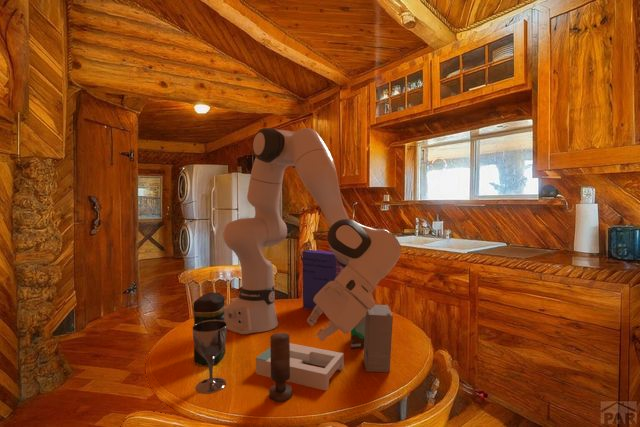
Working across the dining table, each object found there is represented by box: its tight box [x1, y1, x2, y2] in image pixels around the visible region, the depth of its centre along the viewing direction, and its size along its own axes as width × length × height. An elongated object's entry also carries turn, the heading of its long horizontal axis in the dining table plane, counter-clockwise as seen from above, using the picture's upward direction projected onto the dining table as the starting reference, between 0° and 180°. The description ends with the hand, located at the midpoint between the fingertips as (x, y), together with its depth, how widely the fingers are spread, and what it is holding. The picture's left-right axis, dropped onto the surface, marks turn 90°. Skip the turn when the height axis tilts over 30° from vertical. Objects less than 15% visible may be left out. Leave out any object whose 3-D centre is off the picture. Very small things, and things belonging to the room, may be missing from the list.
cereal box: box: [301, 249, 344, 311], centre depth 140 cm, size 17×5×24 cm, turn 60°
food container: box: [350, 314, 366, 350], centre depth 108 cm, size 12×6×10 cm, turn 168°
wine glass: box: [192, 320, 228, 395], centre depth 84 cm, size 8×8×15 cm
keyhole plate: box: [255, 342, 345, 392], centre depth 91 cm, size 20×12×4 cm, turn 66°
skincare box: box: [362, 304, 394, 373], centre depth 94 cm, size 8×7×16 cm
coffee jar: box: [192, 292, 226, 366], centre depth 98 cm, size 10×8×19 cm
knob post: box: [268, 332, 293, 403], centre depth 80 cm, size 5×5×14 cm
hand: (314, 330), depth 82 cm, fingers open, 8 cm apart
